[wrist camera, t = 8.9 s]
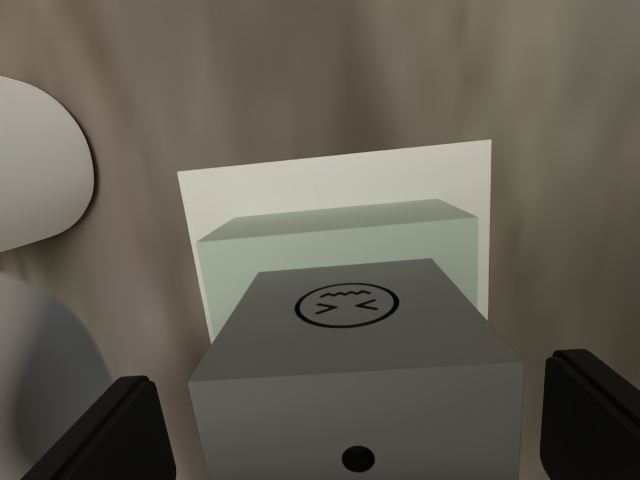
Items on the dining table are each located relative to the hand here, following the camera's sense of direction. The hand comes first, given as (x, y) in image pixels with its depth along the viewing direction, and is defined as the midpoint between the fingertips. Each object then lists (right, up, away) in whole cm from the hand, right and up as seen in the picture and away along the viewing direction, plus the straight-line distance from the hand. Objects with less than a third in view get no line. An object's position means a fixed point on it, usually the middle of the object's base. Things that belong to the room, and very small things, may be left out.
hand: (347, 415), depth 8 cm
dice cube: (0, +1, +2) cm, 3 cm away
